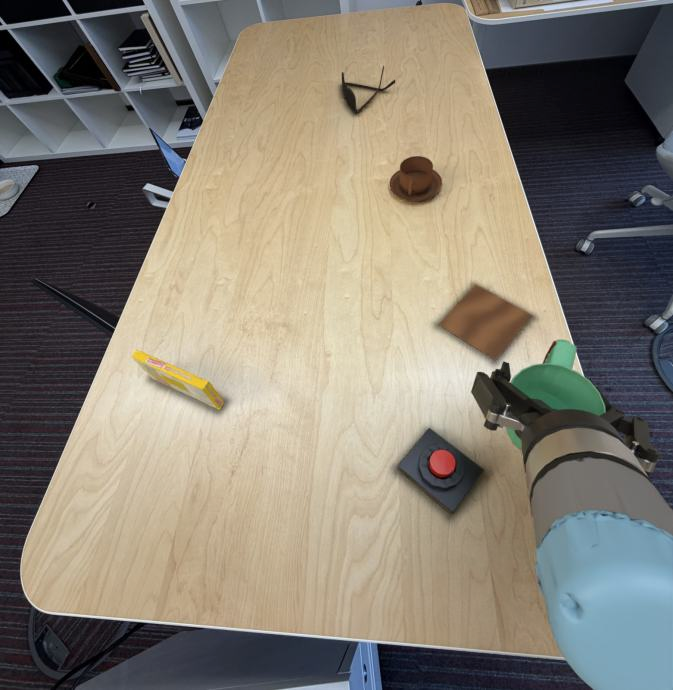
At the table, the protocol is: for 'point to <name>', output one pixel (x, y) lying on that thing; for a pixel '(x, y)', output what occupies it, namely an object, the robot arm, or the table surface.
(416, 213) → the table surface
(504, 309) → the brown pad
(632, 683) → the robot arm
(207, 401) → the candy box
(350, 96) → the sunglasses
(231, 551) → the table surface
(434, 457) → the stop button
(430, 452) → the control block
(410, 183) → the cup and saucer
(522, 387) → the mug
